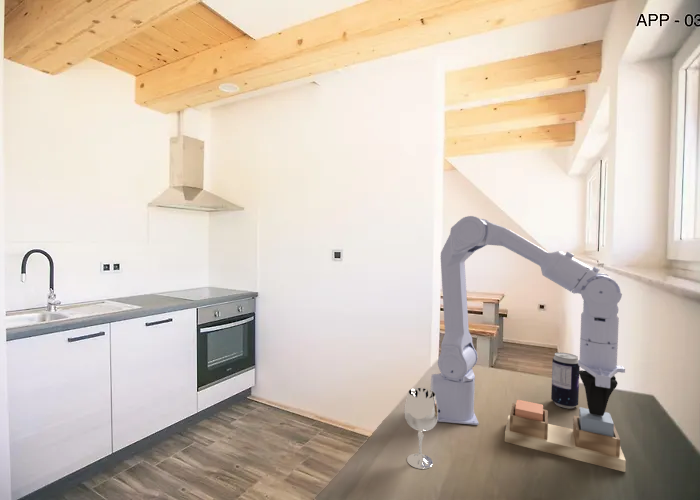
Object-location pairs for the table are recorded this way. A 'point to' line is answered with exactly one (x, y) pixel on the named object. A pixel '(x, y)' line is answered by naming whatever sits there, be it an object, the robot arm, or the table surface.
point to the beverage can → (565, 380)
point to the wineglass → (421, 421)
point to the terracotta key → (529, 410)
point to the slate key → (596, 422)
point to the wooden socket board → (565, 441)
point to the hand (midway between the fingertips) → (595, 413)
